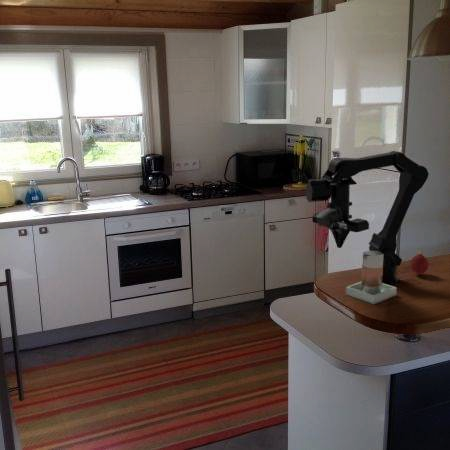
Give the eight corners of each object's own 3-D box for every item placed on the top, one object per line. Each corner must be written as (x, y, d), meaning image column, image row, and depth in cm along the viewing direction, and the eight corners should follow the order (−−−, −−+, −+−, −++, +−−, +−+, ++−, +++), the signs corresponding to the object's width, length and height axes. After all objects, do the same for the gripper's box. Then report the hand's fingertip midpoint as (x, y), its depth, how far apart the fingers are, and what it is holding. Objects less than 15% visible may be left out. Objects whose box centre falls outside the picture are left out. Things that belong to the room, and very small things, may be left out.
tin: (377, 288, 170) (379, 250, 167) (384, 295, 164) (386, 256, 161) (358, 289, 170) (360, 251, 166) (364, 297, 164) (366, 257, 160)
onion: (429, 278, 178) (430, 255, 177) (411, 277, 180) (412, 254, 178) (426, 272, 184) (427, 249, 182) (408, 271, 185) (409, 249, 183)
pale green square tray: (368, 286, 174) (368, 278, 173) (396, 295, 166) (396, 287, 165) (346, 294, 168) (346, 286, 167) (373, 304, 160) (374, 296, 159)
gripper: (299, 199, 171) (300, 246, 174) (345, 208, 156) (345, 259, 160) (324, 193, 177) (324, 239, 181) (370, 202, 162) (369, 251, 166)
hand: (339, 247), depth 172 cm, fingers closed
